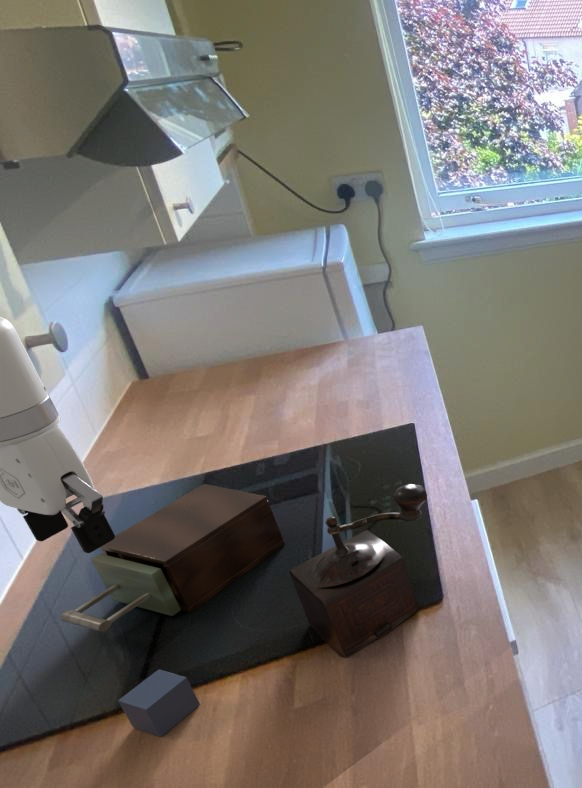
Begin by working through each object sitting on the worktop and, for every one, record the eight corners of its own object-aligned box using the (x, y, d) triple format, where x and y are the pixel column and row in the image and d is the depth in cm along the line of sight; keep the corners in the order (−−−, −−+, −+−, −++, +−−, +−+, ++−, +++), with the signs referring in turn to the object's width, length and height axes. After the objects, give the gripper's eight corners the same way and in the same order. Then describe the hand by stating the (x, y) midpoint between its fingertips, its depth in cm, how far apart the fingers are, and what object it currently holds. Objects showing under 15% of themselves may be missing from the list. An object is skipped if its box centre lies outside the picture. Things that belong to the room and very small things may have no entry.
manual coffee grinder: (345, 663, 92) (302, 550, 85) (306, 624, 98) (263, 516, 91) (459, 589, 104) (430, 484, 96) (418, 559, 110) (388, 458, 102)
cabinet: (190, 613, 101) (165, 561, 97) (125, 595, 104) (98, 545, 100) (285, 544, 113) (266, 496, 110) (224, 530, 117) (203, 483, 113)
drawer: (121, 652, 94) (97, 609, 91) (60, 634, 97) (35, 592, 94) (263, 550, 111) (247, 511, 108) (208, 538, 114) (190, 499, 111)
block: (161, 737, 83) (145, 709, 81) (133, 728, 85) (117, 700, 83) (200, 704, 87) (186, 677, 85) (173, 695, 88) (158, 668, 87)
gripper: (-79, 426, 84) (-6, 547, 92) (23, 447, 80) (91, 572, 87) (1, 396, 91) (63, 511, 98) (100, 413, 86) (157, 532, 94)
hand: (76, 539), depth 93 cm, fingers open, 7 cm apart
